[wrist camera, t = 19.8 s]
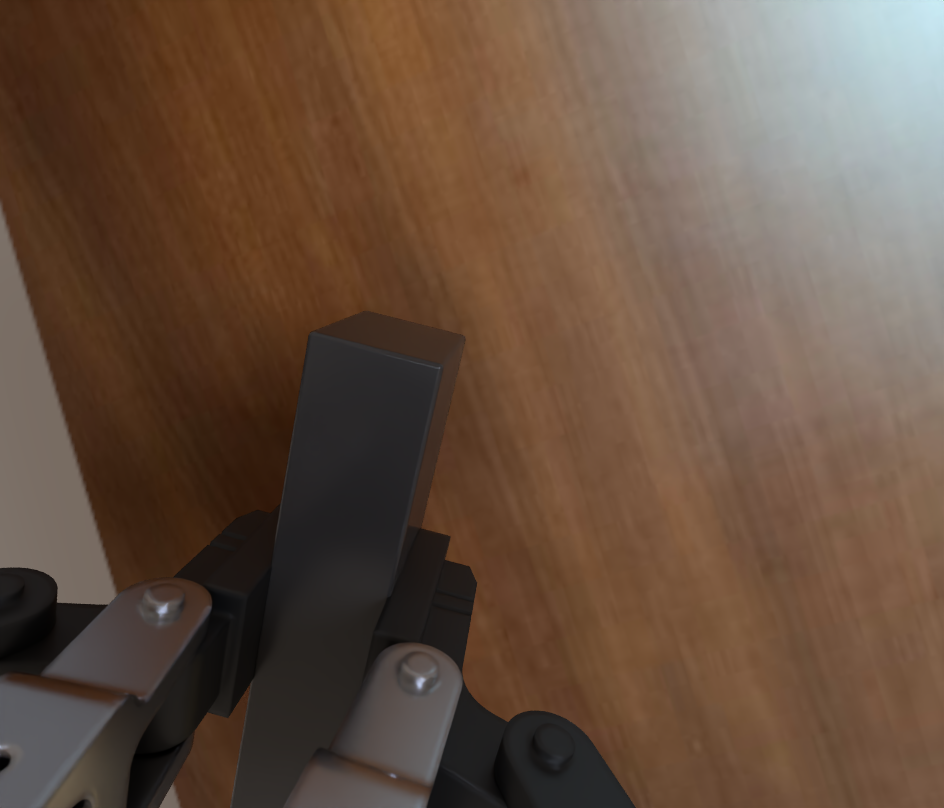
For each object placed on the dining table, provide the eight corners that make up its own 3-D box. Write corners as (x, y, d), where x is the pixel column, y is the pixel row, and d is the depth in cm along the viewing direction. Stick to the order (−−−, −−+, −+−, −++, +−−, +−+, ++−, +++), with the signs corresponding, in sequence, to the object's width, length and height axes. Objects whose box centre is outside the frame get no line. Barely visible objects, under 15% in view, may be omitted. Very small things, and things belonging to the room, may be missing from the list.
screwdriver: (364, 309, 12) (308, 330, 9) (466, 335, 12) (444, 365, 9) (229, 1021, 17) (167, 1181, 14) (299, 1042, 17) (251, 1206, 14)
